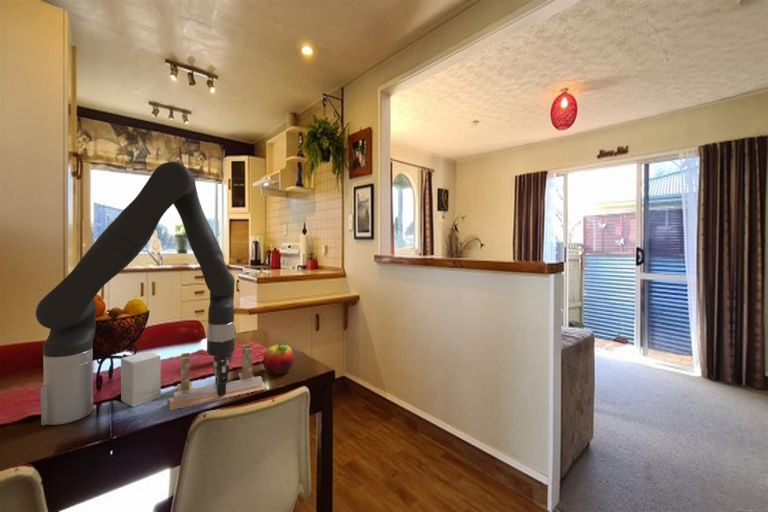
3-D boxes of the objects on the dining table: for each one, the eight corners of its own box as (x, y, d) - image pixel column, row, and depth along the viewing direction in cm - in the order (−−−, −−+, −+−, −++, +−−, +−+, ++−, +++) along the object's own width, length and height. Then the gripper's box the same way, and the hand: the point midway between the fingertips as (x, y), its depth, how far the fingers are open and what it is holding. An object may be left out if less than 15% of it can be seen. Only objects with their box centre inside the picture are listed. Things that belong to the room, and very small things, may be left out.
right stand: (242, 383, 108) (242, 350, 107) (238, 376, 113) (239, 345, 113) (254, 381, 110) (255, 348, 110) (251, 374, 116) (251, 343, 115)
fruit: (285, 363, 126) (285, 338, 126) (299, 372, 119) (300, 345, 118) (257, 370, 119) (258, 343, 118) (271, 380, 111) (271, 351, 110)
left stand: (177, 396, 98) (177, 360, 98) (177, 387, 103) (177, 353, 103) (193, 393, 100) (193, 357, 100) (191, 385, 106) (192, 351, 105)
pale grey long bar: (173, 404, 93) (173, 396, 92) (173, 400, 95) (173, 392, 94) (262, 386, 106) (262, 378, 106) (260, 383, 108) (260, 375, 108)
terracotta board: (169, 410, 90) (169, 408, 90) (169, 399, 96) (169, 398, 96) (267, 389, 104) (267, 388, 104) (262, 381, 110) (262, 379, 110)
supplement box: (161, 397, 97) (161, 355, 97) (132, 408, 91) (132, 363, 90) (149, 390, 101) (149, 350, 100) (120, 400, 95) (119, 357, 94)
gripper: (204, 332, 103) (204, 385, 104) (209, 345, 91) (209, 405, 92) (230, 329, 107) (230, 380, 108) (238, 341, 95) (237, 398, 96)
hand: (220, 391), depth 100 cm, fingers open, 4 cm apart
